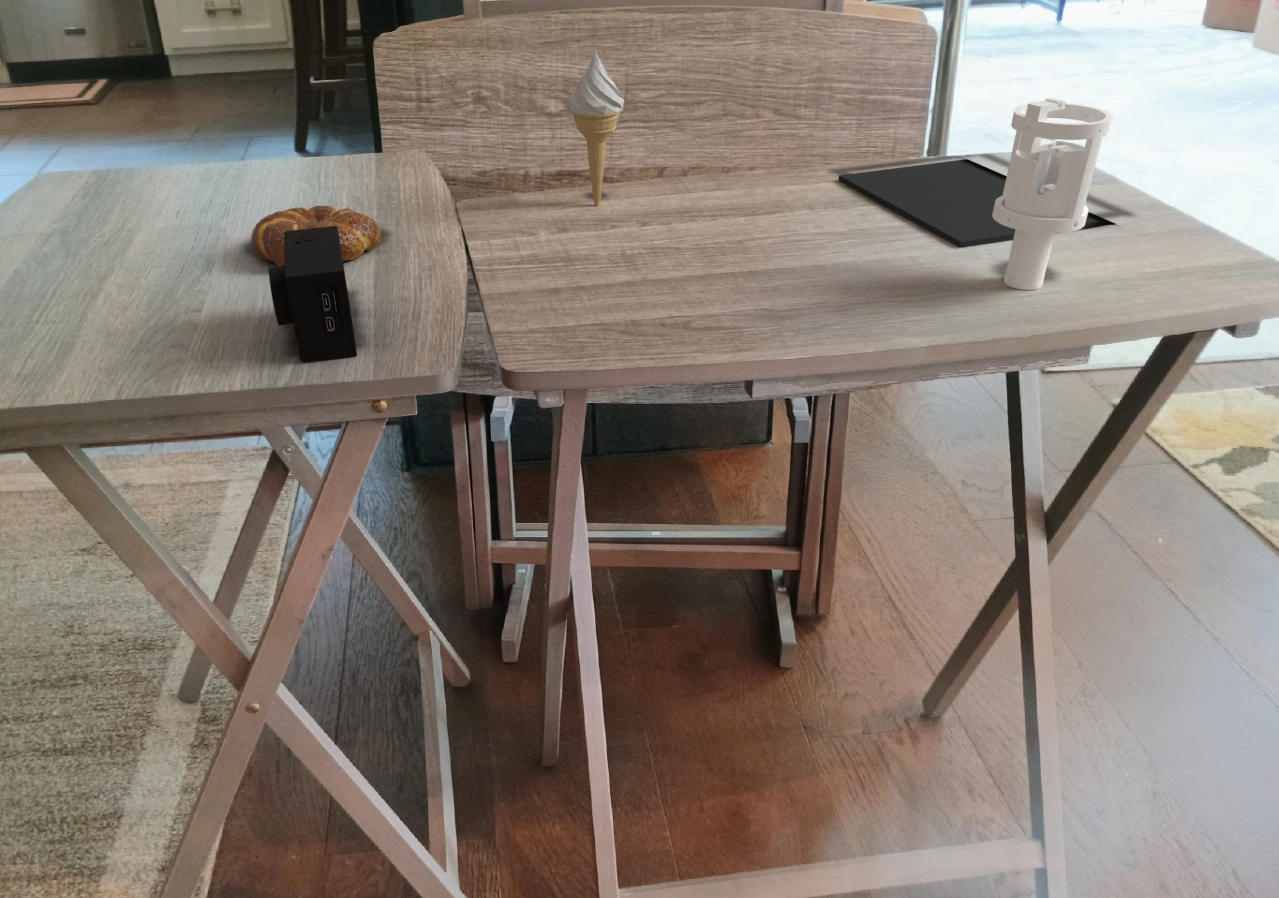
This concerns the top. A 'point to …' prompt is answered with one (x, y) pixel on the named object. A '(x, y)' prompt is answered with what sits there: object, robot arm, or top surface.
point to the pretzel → (352, 227)
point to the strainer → (1047, 182)
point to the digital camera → (314, 294)
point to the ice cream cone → (596, 116)
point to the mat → (945, 199)
